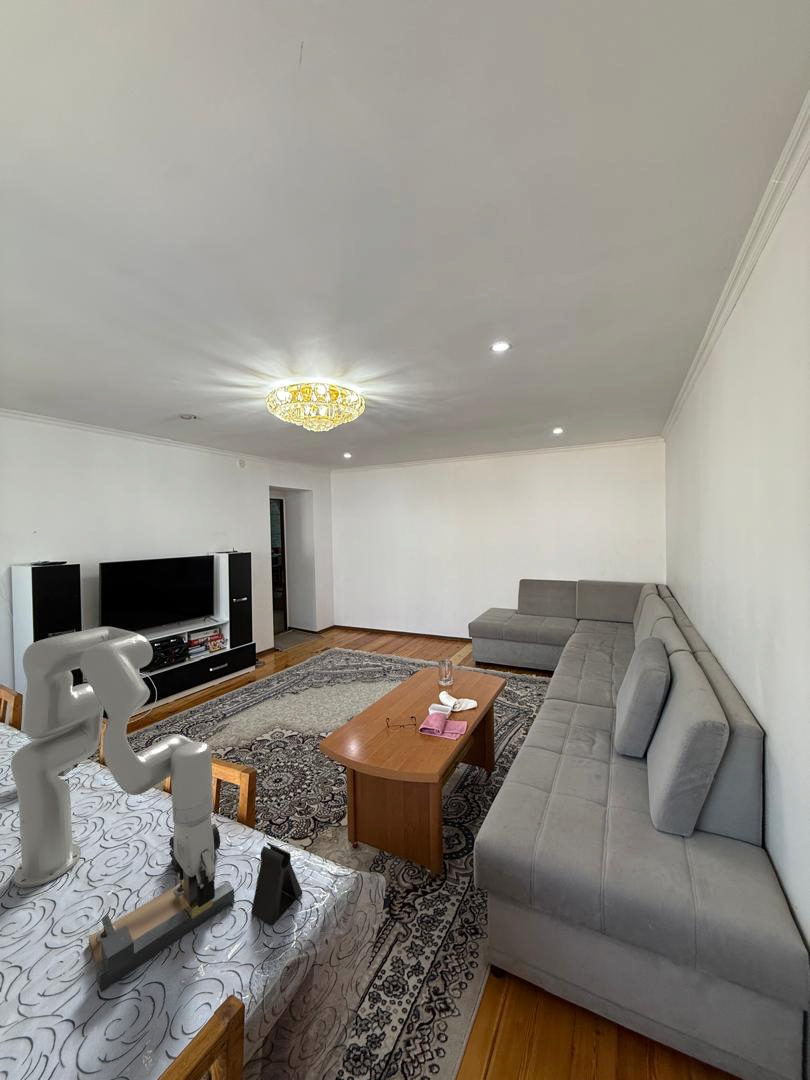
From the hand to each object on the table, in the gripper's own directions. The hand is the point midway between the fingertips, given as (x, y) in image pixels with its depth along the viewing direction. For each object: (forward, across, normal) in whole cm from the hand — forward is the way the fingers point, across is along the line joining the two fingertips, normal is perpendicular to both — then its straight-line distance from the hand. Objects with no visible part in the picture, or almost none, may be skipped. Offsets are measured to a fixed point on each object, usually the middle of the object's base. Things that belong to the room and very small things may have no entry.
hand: (196, 888), depth 87 cm
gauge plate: (+7, -7, -6) cm, 11 cm away
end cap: (+7, -18, +6) cm, 20 cm away
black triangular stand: (+7, +9, +13) cm, 17 cm away
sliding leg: (+5, -3, 0) cm, 6 cm away
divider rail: (+7, -4, -5) cm, 9 cm away
